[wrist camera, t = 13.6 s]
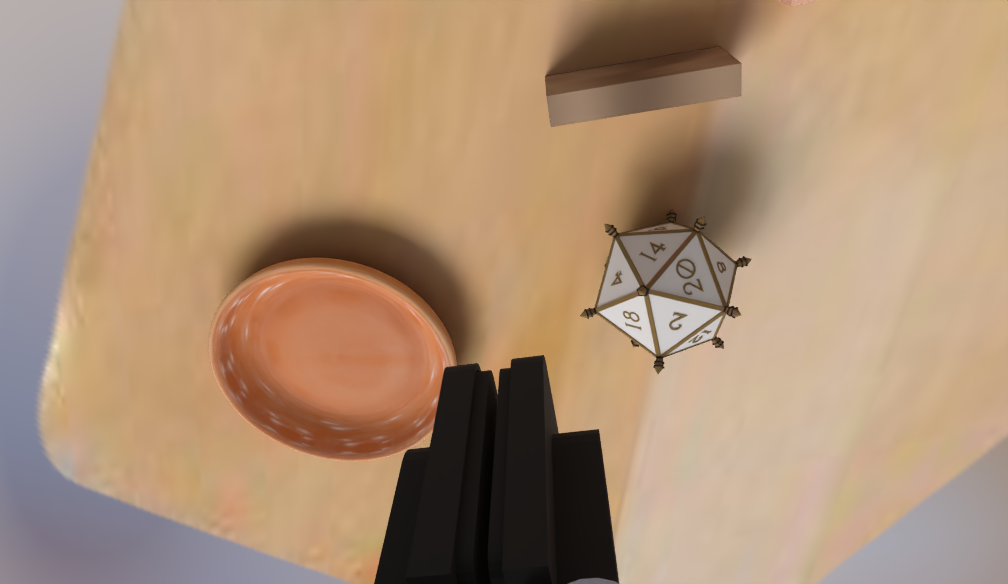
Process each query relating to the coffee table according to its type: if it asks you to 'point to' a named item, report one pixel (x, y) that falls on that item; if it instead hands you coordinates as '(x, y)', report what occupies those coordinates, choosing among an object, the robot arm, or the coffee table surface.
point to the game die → (666, 287)
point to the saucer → (331, 358)
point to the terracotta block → (795, 2)
